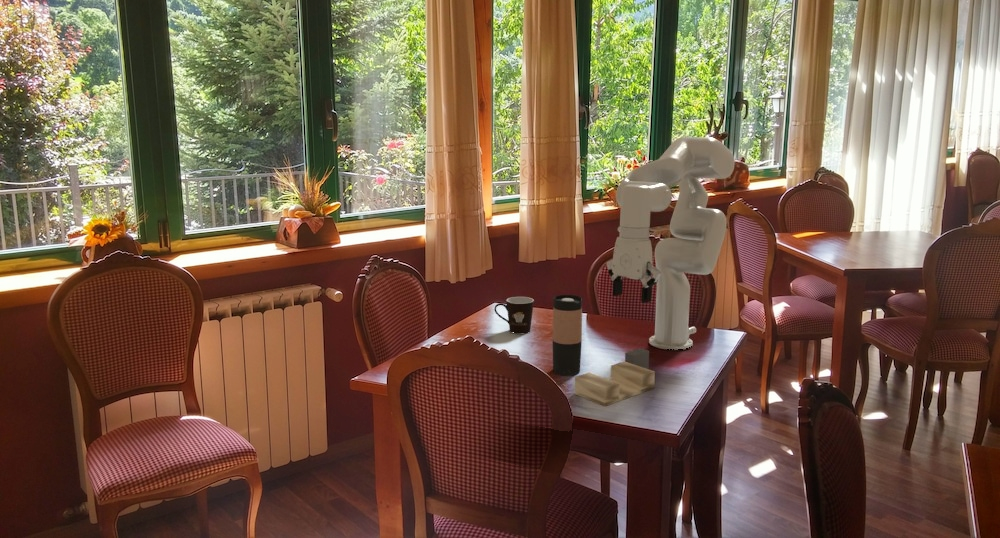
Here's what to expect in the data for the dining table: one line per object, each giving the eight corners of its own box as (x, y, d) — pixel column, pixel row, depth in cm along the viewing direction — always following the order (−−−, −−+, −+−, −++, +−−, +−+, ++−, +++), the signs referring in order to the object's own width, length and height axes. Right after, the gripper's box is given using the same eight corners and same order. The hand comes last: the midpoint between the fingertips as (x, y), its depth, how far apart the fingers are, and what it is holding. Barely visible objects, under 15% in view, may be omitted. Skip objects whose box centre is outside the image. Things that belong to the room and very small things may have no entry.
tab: (639, 369, 202) (640, 348, 201) (648, 372, 200) (649, 350, 199) (624, 374, 198) (625, 352, 197) (633, 377, 196) (634, 355, 195)
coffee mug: (538, 329, 238) (539, 299, 236) (524, 336, 231) (524, 305, 229) (507, 324, 244) (507, 294, 242) (492, 330, 237) (492, 300, 235)
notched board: (623, 377, 196) (624, 361, 195) (654, 388, 188) (654, 371, 188) (574, 393, 185) (574, 376, 184) (604, 406, 177) (605, 388, 176)
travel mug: (551, 366, 205) (552, 294, 201) (579, 366, 205) (581, 294, 200) (552, 375, 197) (553, 301, 193) (581, 376, 197) (583, 301, 193)
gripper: (599, 230, 197) (597, 294, 200) (651, 238, 184) (648, 307, 187) (618, 228, 202) (616, 290, 205) (671, 236, 189) (667, 302, 192)
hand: (631, 298), depth 196 cm, fingers open, 9 cm apart
